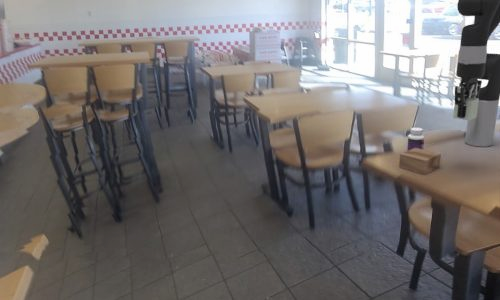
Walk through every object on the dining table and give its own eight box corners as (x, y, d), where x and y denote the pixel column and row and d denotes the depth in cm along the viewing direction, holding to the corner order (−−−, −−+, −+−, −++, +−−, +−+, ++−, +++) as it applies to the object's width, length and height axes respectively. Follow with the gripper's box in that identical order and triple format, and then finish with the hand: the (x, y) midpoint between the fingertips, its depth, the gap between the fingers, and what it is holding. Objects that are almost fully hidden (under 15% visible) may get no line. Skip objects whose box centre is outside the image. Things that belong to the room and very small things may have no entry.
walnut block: (414, 161, 141) (415, 147, 139) (439, 168, 134) (440, 153, 132) (399, 168, 135) (400, 154, 134) (424, 175, 129) (425, 160, 127)
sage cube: (460, 114, 131) (462, 96, 129) (476, 117, 128) (478, 98, 126) (453, 117, 128) (455, 99, 126) (469, 120, 125) (472, 101, 123)
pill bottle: (424, 157, 143) (426, 131, 139) (407, 157, 144) (409, 131, 141) (421, 152, 148) (423, 126, 144) (405, 152, 149) (407, 126, 146)
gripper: (468, 57, 129) (462, 109, 135) (448, 63, 121) (442, 118, 126) (494, 58, 124) (486, 112, 129) (474, 64, 115) (467, 122, 121)
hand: (464, 115), depth 128 cm, fingers closed on sage cube, 5 cm apart
